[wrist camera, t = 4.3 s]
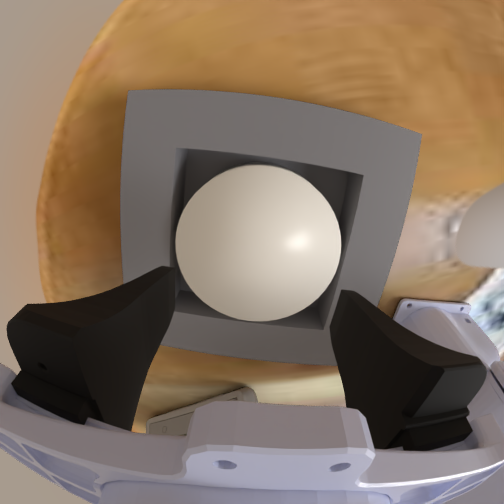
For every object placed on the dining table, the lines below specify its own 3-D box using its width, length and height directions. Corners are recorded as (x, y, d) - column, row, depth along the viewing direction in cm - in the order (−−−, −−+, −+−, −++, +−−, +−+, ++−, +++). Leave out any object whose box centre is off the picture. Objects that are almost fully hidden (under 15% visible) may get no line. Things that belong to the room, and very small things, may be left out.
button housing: (398, 133, 18) (421, 134, 14) (343, 339, 24) (352, 366, 21) (149, 96, 17) (128, 90, 14) (144, 314, 24) (130, 338, 21)
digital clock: (256, 377, 27) (253, 471, 17) (285, 422, 30) (288, 499, 20) (132, 400, 29) (105, 469, 20) (172, 438, 32) (156, 501, 23)
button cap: (342, 175, 18) (357, 182, 15) (313, 303, 22) (319, 328, 19) (193, 154, 18) (180, 157, 15) (185, 287, 22) (174, 309, 19)
